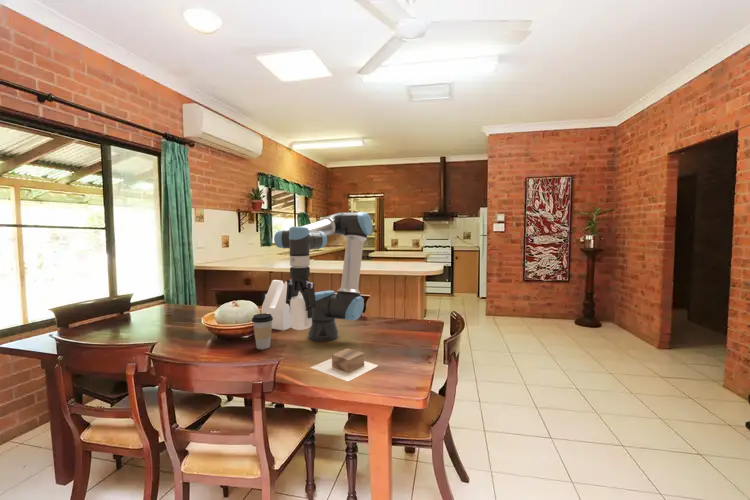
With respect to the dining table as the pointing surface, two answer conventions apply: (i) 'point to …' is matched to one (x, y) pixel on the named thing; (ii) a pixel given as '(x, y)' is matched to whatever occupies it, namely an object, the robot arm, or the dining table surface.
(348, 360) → the walnut block
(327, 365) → the build board
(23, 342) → the dining table surface
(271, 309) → the white slotted holder
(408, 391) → the dining table surface
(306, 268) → the robot arm
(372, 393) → the dining table surface
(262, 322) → the coffee cup
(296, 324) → the beverage can
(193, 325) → the dining table surface
